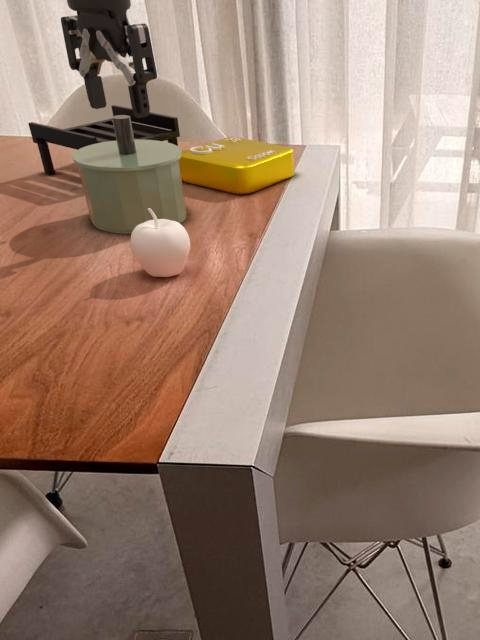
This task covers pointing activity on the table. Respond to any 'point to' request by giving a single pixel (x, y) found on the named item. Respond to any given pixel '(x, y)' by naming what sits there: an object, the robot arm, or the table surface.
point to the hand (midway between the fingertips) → (120, 112)
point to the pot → (133, 196)
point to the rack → (102, 133)
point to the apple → (160, 246)
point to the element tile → (237, 165)
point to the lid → (126, 151)
